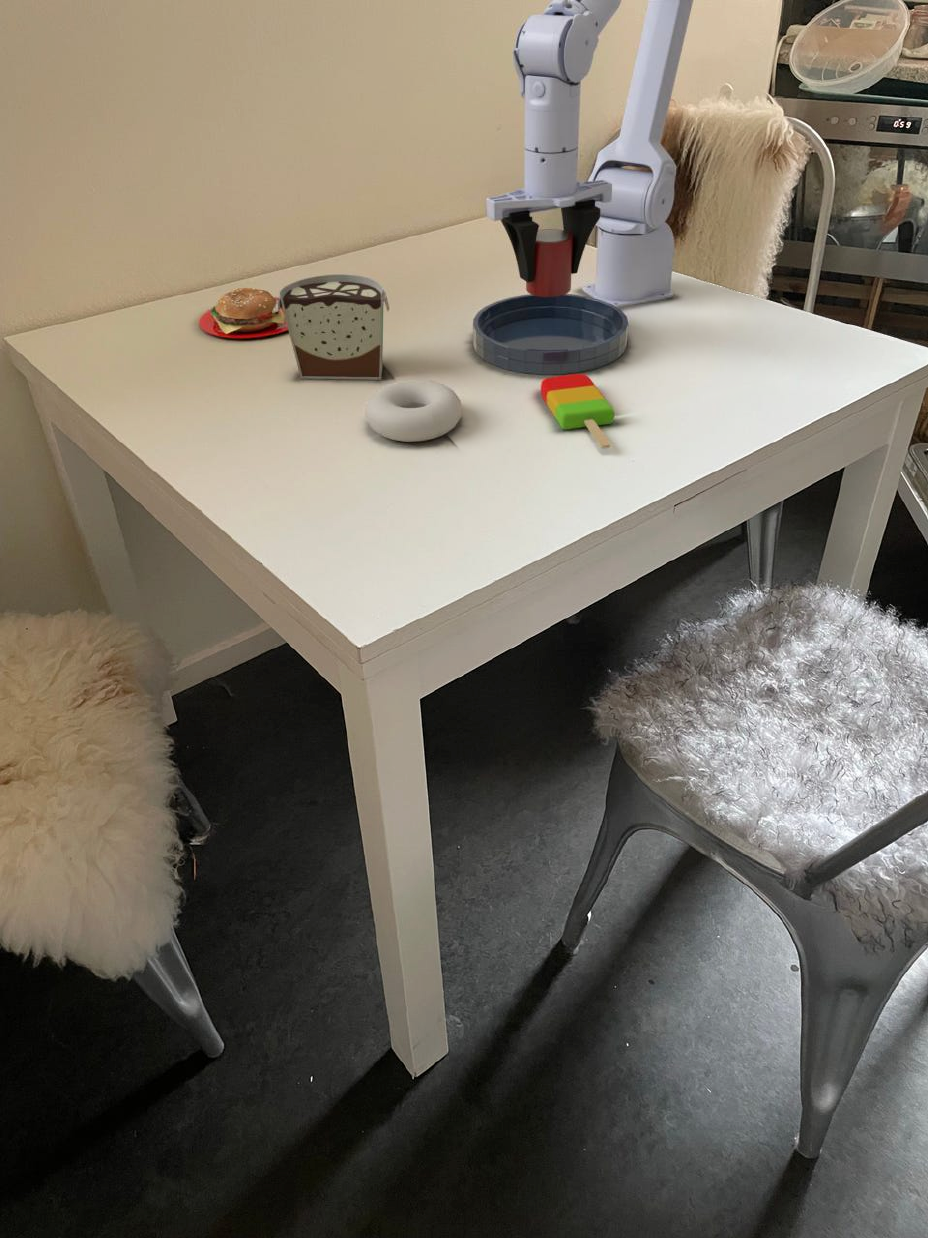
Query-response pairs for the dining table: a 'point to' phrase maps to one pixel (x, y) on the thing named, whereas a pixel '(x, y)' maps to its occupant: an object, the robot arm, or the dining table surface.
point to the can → (552, 263)
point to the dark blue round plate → (550, 334)
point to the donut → (413, 410)
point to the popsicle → (578, 404)
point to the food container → (336, 326)
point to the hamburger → (245, 315)
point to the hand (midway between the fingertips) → (548, 275)
